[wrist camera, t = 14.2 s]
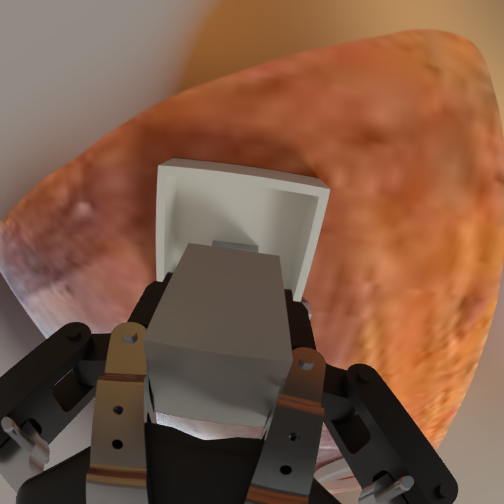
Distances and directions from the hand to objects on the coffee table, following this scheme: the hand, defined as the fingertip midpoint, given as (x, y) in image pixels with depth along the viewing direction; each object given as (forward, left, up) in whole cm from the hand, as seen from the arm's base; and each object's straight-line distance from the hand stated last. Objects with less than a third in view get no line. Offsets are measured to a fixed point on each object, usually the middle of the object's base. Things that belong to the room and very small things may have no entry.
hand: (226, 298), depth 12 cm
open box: (-3, 0, -13) cm, 13 cm away
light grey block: (0, 0, -1) cm, 1 cm away
